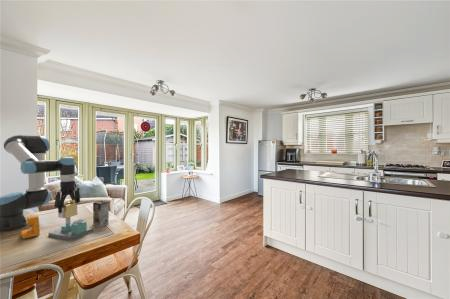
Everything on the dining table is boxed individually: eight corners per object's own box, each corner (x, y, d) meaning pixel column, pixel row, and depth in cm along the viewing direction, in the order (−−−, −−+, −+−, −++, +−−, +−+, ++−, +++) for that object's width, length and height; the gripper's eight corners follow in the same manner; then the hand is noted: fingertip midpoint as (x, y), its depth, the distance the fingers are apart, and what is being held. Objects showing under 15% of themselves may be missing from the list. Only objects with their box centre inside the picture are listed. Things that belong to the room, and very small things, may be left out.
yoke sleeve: (66, 218, 125) (65, 202, 124) (58, 217, 127) (58, 201, 127) (77, 214, 131) (77, 199, 131) (69, 213, 133) (69, 199, 133)
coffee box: (92, 224, 143) (92, 202, 143) (101, 221, 149) (101, 200, 149) (100, 226, 139) (100, 204, 139) (109, 223, 145) (108, 201, 145)
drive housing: (48, 236, 125) (48, 217, 124) (71, 227, 138) (71, 210, 138) (71, 240, 119) (71, 221, 118) (93, 231, 132) (93, 213, 132)
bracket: (21, 235, 126) (21, 216, 126) (36, 231, 132) (36, 213, 131) (23, 240, 119) (23, 220, 119) (39, 236, 125) (39, 217, 125)
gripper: (54, 183, 118) (54, 221, 118) (86, 178, 137) (87, 211, 137) (45, 183, 120) (46, 220, 121) (78, 178, 139) (79, 210, 140)
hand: (68, 215), depth 129 cm, fingers closed on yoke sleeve, 7 cm apart
